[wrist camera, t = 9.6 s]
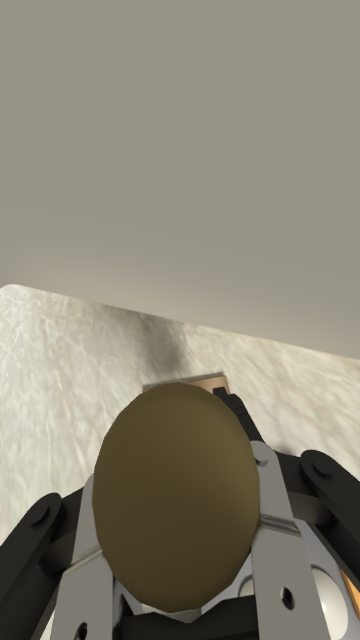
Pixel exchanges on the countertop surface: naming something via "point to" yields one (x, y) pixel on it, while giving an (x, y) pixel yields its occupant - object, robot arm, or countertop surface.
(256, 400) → the countertop surface
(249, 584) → the charging strip
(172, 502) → the pepper shaker
